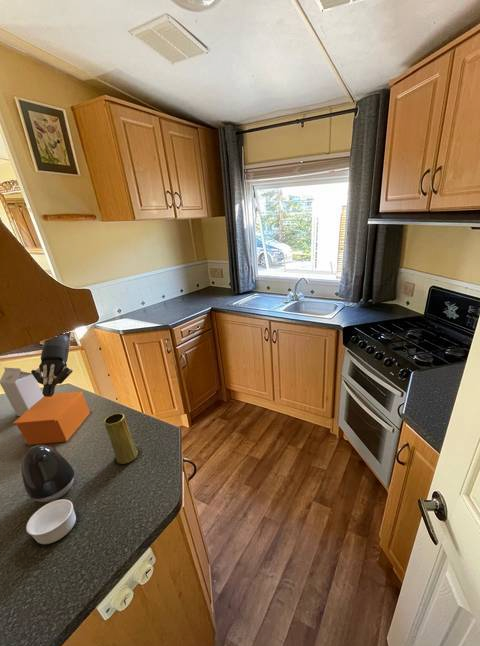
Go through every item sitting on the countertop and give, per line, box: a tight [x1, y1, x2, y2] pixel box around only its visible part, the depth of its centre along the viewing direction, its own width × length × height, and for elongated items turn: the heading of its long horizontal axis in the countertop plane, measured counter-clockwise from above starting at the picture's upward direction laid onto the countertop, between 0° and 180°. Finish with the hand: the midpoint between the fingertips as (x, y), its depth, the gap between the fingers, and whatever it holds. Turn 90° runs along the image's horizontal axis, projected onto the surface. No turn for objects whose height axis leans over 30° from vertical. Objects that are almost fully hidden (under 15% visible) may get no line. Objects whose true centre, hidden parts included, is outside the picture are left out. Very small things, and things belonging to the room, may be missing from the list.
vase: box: [103, 412, 139, 465], centre depth 84 cm, size 6×6×14 cm
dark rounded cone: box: [21, 444, 75, 503], centre depth 74 cm, size 10×10×15 cm
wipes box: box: [16, 393, 91, 446], centre depth 100 cm, size 16×13×9 cm
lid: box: [12, 391, 83, 426], centre depth 98 cm, size 16×13×1 cm
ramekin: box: [25, 498, 77, 545], centre depth 67 cm, size 9×9×4 cm
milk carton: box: [0, 366, 44, 417], centre depth 108 cm, size 7×7×19 cm
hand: (47, 396), depth 97 cm, fingers closed
